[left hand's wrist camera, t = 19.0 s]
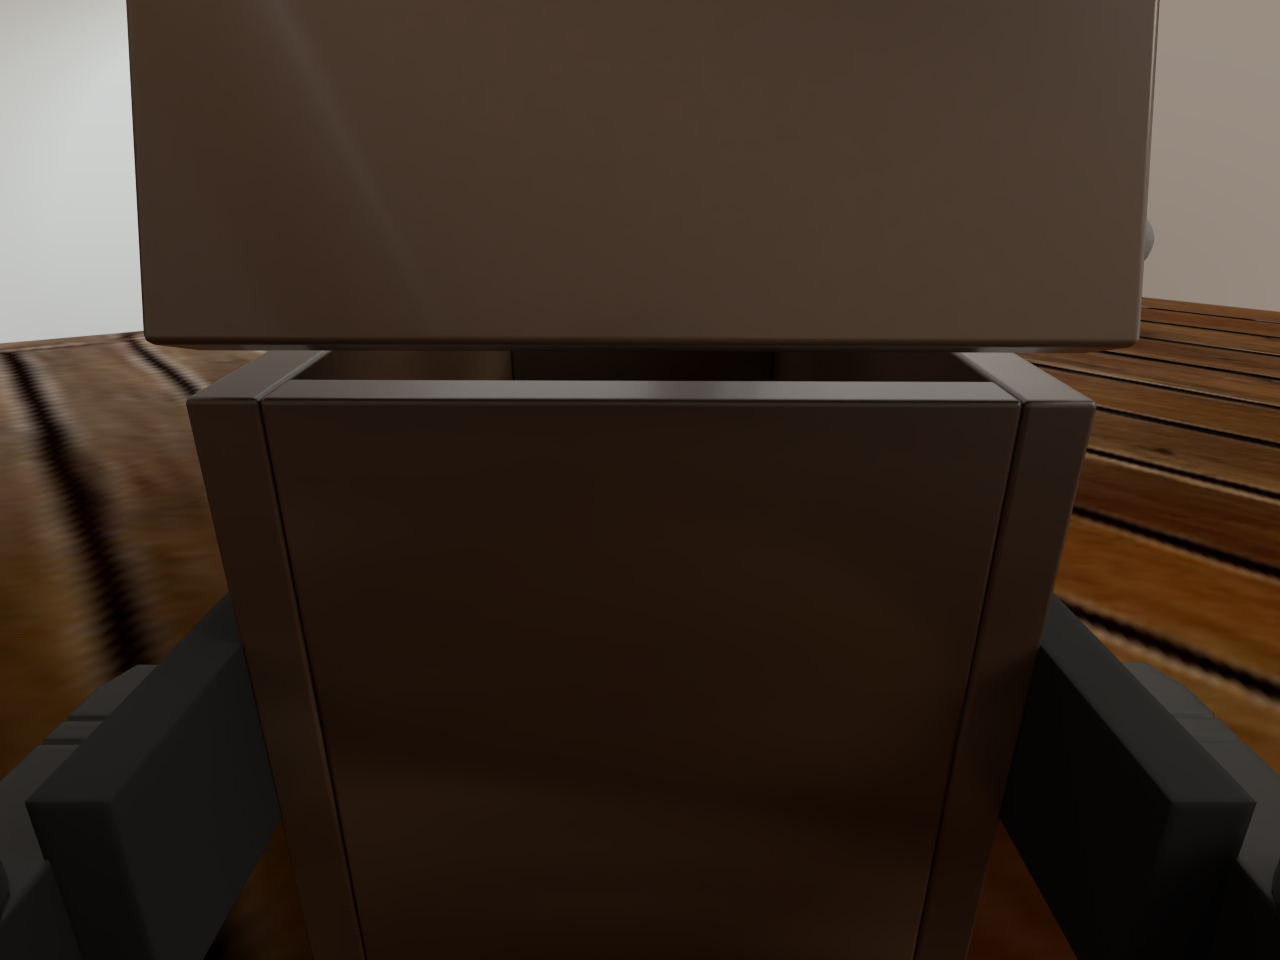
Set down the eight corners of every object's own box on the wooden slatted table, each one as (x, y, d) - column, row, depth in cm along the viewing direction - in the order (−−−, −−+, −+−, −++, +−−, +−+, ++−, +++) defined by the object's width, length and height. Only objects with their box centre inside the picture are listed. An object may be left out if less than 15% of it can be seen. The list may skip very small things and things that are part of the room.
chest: (505, 562, 28) (480, 225, 24) (778, 563, 28) (804, 226, 24) (338, 1078, 13) (182, 398, 8) (939, 1082, 13) (1101, 401, 8)
